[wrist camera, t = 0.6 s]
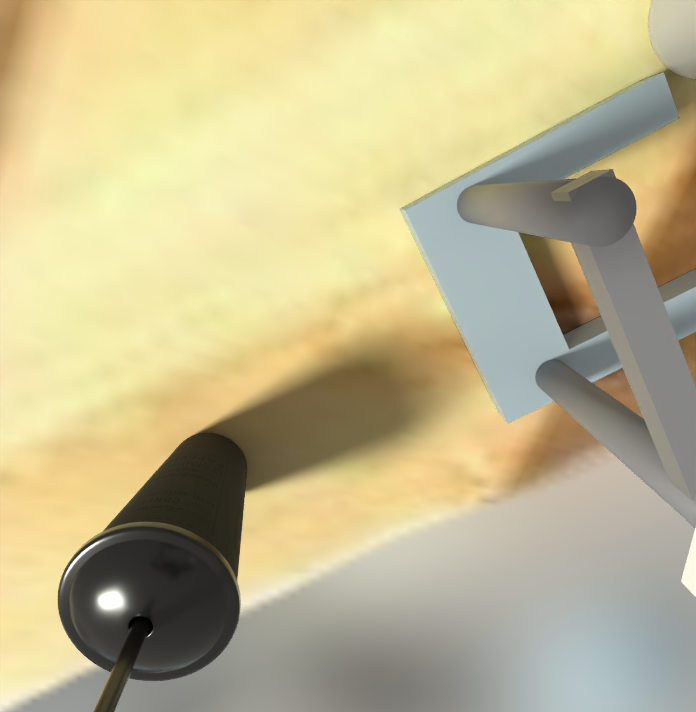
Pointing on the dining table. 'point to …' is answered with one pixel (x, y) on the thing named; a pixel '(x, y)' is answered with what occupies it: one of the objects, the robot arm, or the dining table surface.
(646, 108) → the grey arch frame
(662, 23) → the beverage can
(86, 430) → the dining table surface
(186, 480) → the drinking cup
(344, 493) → the dining table surface
